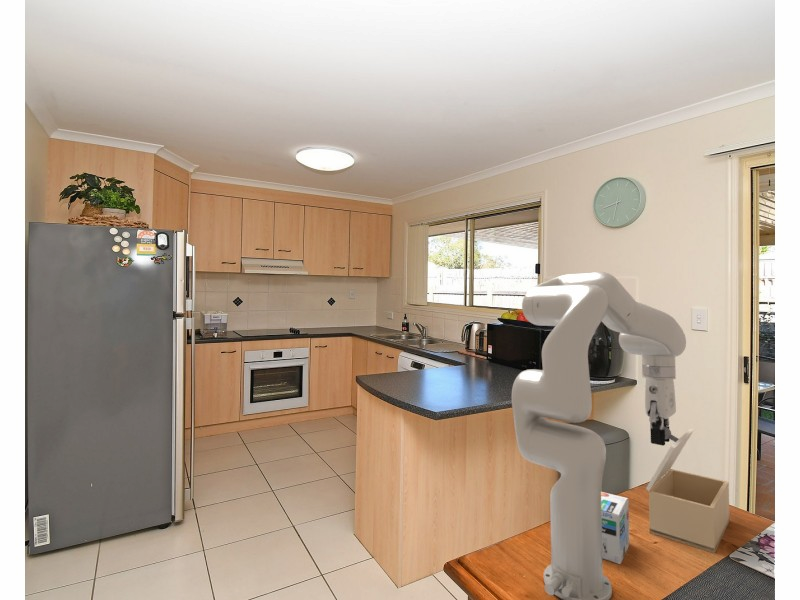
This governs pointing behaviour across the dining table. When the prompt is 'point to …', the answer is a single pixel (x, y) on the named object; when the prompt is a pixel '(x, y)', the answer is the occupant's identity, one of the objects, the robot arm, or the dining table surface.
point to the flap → (669, 455)
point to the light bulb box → (614, 527)
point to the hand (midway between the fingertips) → (660, 441)
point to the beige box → (689, 509)
